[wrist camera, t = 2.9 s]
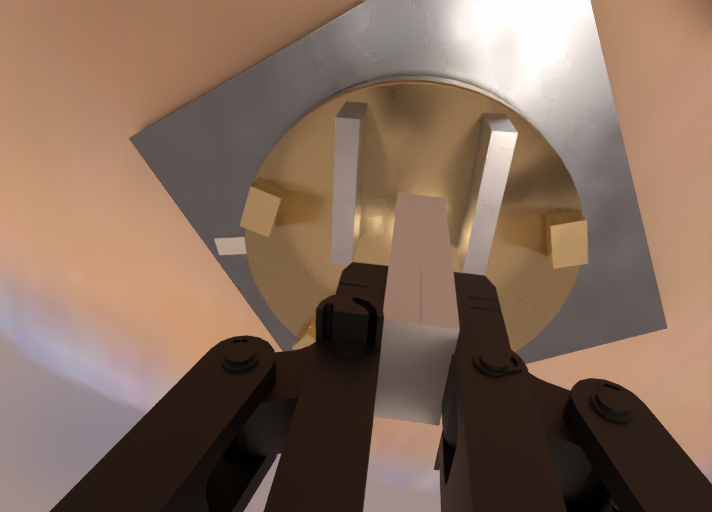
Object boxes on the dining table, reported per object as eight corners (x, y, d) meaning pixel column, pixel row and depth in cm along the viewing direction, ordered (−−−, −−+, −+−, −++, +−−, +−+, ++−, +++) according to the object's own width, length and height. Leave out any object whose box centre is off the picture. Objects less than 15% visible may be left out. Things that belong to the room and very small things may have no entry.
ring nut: (526, 369, 31) (544, 437, 26) (265, 336, 32) (238, 394, 27) (620, 90, 21) (674, 118, 17) (247, 61, 23) (202, 80, 18)
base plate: (142, 131, 27) (126, 139, 26) (553, -108, 19) (564, -115, 18) (331, 399, 37) (327, 415, 35) (656, 313, 29) (668, 330, 28)
